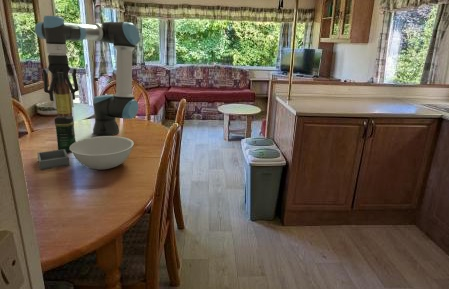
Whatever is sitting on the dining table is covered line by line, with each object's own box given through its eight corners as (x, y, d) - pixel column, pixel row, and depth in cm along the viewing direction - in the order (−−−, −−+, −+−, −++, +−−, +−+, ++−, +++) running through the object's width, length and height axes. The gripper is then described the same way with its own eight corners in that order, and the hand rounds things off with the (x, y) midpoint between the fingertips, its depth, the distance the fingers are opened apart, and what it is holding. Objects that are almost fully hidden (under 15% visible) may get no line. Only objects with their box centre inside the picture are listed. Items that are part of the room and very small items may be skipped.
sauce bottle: (63, 114, 146) (58, 70, 140) (75, 115, 145) (71, 71, 139) (53, 116, 140) (48, 71, 134) (66, 118, 139) (61, 72, 133)
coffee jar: (73, 152, 158) (69, 117, 153) (56, 153, 157) (51, 117, 151) (78, 146, 167) (74, 112, 162) (62, 147, 166) (58, 112, 160)
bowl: (74, 157, 152) (71, 138, 149) (132, 152, 162) (131, 134, 159) (69, 180, 128) (66, 158, 125) (137, 173, 138) (136, 152, 135)
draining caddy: (65, 156, 153) (64, 149, 152) (69, 165, 143) (68, 157, 142) (38, 160, 147) (37, 152, 146) (40, 170, 137) (39, 161, 136)
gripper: (33, 54, 126) (40, 111, 133) (83, 55, 137) (88, 107, 144) (30, 53, 131) (38, 107, 139) (79, 54, 143) (84, 104, 150)
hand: (63, 107), depth 141 cm, fingers closed on sauce bottle, 6 cm apart
